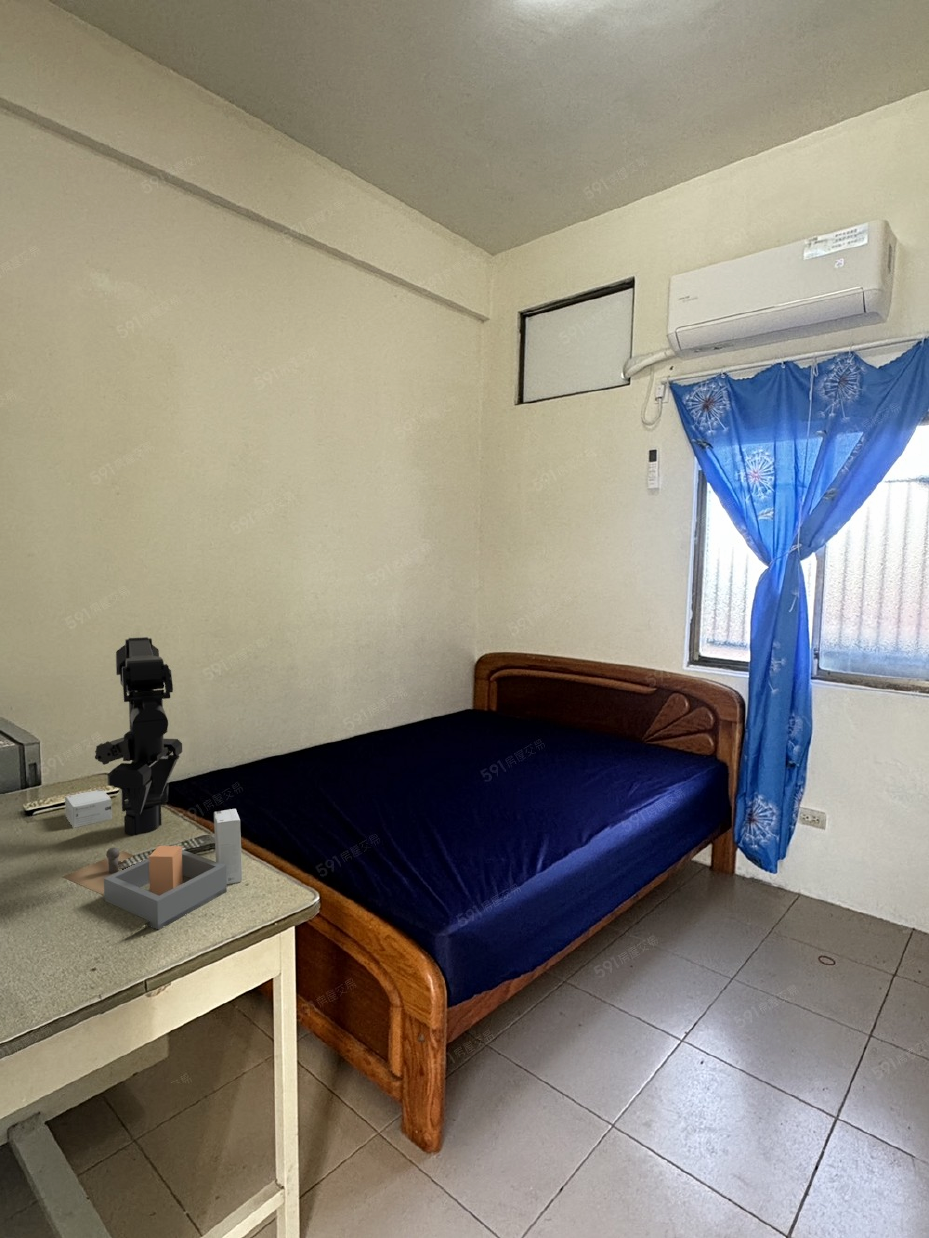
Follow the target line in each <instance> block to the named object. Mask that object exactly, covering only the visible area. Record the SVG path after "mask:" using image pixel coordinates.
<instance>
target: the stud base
mask: <svg viewBox="0 0 929 1238" xmlns="http://www.w3.org/2000/svg"><path fill="white" fill-rule="evenodd" d="M133 856H136V855H134V854H131V853H129V852H127V851H120V850H119V848H117V847H115V846H114V847H110V848H109V849H108V850H107V851H106V858H103V859H101V860H99V861H97V862H94V863H91V864H90V865H87V866H84V867H82V868H80V869H77V870H74V871H73V872H71V873H68V874H66V875H63V876H62V878H64V879H66V880H68V881H70V882H72V883H75V884H78V885H80V886H82V887H84V888H87V889H89V890H91V891H93V892H95V893H96V894H97V893H98V894H99V895H102V896H103V895H104V878H106V877H108V876H110V875H112V874H115V873H117V872H119V871H121V870H122V869H119V868H118V861H122V860H126V859H128V858H131V857H133Z"/></svg>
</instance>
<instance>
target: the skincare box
mask: <svg viewBox="0 0 929 1238" xmlns="http://www.w3.org/2000/svg"><path fill="white" fill-rule="evenodd" d="M213 825H214V829H213V830H214V845H215V848H214V849H215V862H218V863H221V864H224V865H226V886H227V885H231V884H237V883H241V882H243V861H242V841H241V840H242V839H241V838H242V837H241V835H242V833H241V819H240V816H239V814H238V812H237V808H232V809H231V808H229V809H224V810H218V811H214V812H213Z"/></svg>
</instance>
